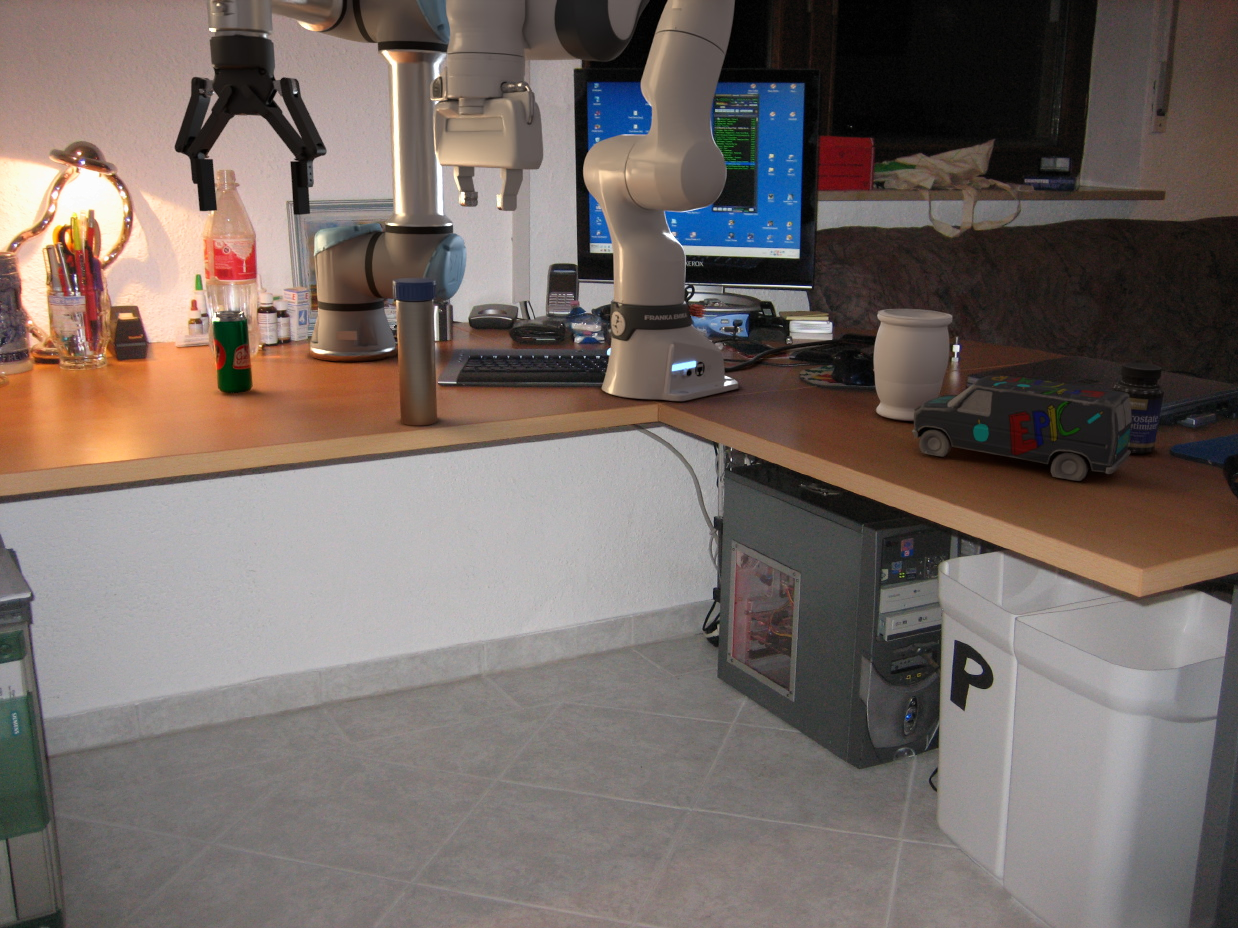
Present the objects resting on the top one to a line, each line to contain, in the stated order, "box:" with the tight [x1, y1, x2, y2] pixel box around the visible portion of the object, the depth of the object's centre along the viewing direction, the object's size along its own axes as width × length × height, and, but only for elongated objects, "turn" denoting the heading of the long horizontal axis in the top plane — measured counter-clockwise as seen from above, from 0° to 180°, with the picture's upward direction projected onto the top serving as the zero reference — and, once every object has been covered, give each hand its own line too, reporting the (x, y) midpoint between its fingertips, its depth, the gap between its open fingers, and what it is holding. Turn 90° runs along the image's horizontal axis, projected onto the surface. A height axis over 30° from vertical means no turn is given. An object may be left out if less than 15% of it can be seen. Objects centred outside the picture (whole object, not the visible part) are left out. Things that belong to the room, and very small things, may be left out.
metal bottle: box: [395, 299, 438, 427], centre depth 146 cm, size 5×5×19 cm
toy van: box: [911, 374, 1133, 482], centre depth 133 cm, size 11×25×10 cm, turn 54°
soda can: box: [211, 310, 254, 395], centre depth 162 cm, size 5×5×12 cm
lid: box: [392, 278, 436, 301], centre depth 143 cm, size 6×6×2 cm
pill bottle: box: [1111, 362, 1165, 455], centre depth 139 cm, size 6×6×11 cm
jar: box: [873, 308, 953, 422], centre depth 154 cm, size 11×10×15 cm
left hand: (254, 213), depth 138 cm, fingers open, 13 cm apart
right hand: (487, 208), depth 126 cm, fingers open, 8 cm apart
